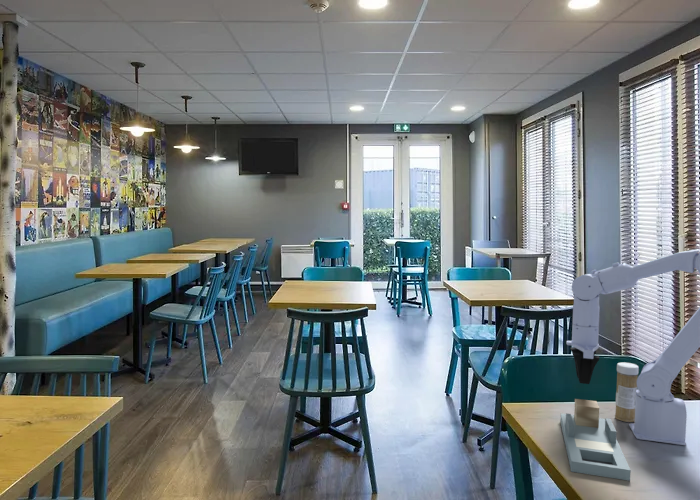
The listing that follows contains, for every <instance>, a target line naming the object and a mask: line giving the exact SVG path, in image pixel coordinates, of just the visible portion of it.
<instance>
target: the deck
mask: <svg viewBox="0 0 700 500" xmlns="http://www.w3.org/2000/svg"><path fill="white" fill-rule="evenodd" d="M560 425H561V427H560V428H561V431H562V435H563V439H564V444H565V450H566V453H567V458H568V459H567V460H568V463H569V464H568V465H569V468H570V472H572V473H578V474H585V475H590V476H591V475H593V476H598V477H605V478H610V479H618V480H624V481H631V467H630V466H629V463H628V461H627V459H626V457H625V454H624V453H623V450H622V448H621V445H620V444H619V441H618V440H617V430H616V428H615V425H614V424H613V421H612V419H611V418H607V417H606V418H603V417H602V418H601V417H599V428H594V427H587V426H579V425H576V422H575V419H574V414H571V413H563V412H562V413H560Z"/></svg>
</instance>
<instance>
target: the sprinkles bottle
mask: <svg viewBox="0 0 700 500" xmlns="http://www.w3.org/2000/svg"><path fill="white" fill-rule="evenodd" d="M639 371H640V369H639V365H637V364H636V363H631V362H625V361H624V362H618V363H617V364H616V372H617V374H616V389H615V390H616V392H615V411H614V412H615V414H614V418H615V419H616V420H618V421H621V422H624V423H634V422H635V401H636V390H637V389H638V388H637V378H638V376H639Z"/></svg>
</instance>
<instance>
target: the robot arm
mask: <svg viewBox="0 0 700 500" xmlns="http://www.w3.org/2000/svg"><path fill="white" fill-rule="evenodd" d="M695 269H696V271H697V272H698V273H699V274H700V248H697V249H690V250H685V251H684V250H683V251H680V252H676V253H672V254H669V255H666V256H663V257H660V258H657V259H654V260H650V261H647V262H644V263H641V264H639V265H638V264H637V265H633V266H632V265H631V264H628V263H626V262H624V263H620V262H614V263H612V264H611V266H609V267H607V268H603V269H599V270H597V269H593V270H591V271H590V273H585V274H581V275H580V276H578V277H576V278H575V279H574V280H573V281H572V283H571V284H572V285H571V291H572V293H573V305H572V323H571V324H572V326H571V327H572V330H571V340H566V345H567V346H572V347H569V349H570V351H571V353H572V356H573V360H574V364H575V366H574V367H575V371H576V372H575V373H576V376H577V379H578V382H579V384H583V385H584V384H585V385H590V383H591V379H592V376H593V373H594V370H595V368H596V365H597V364H598V362H599V360H600V358H601V357H600V356H599V355H596V353H597V351H598V349H599V347H600V344H599V332H600V330H599V329H600V310H601V307H600V294H601V295H609V294H612V293H616V292H620V291H624V290H627V289H631V288H634V287H635V286H636V285H637V282H638V280H641V279H646V278H650V277H651V278H652V277H653V276H658V275H659V276H660V275H663V274H666V273H670V272H675V271H679V272H680V271H681V272H684V273H690V274H693V273H694V271H695ZM699 348H700V306H699V307H698V309H697V310H696V311H695V312H694V313H693V315H692V316H691V317H690V318H689V320H688V321H687V322H686V323H685V325H683V327H682V328H681V329H680V330H679V332H678V333H677V334H676V335H675V336H674V338H673V339H672V340H671V341H670V342H669V344H668V345H667V347H666V348H665V349H664V350H663V351H662V352H661V353H660V354H659V355H658V356H657V357H656V358H655V359H654V360H653V361H651V362H650V361H649V362H648V363H646V364H645V365H643V367H642V369H641V372H640V374H638V376H637V390H636V401H635V421H634V422H633V423H632V422H629V424H628V425H629V428H630V429H631V431H632V433H633V435H634V437H635V438H636V439H637V440H644V441H651V442H657V443H658V442H659V443H664V444H673V445H678V446H679V445H681V446H687V442H686V433H687V416H688V415H687V413H688V412H687V408H686V403H685V401H684V399H683V398H682V399H681V398H678V397H675V396H674V394H672V392H671V390H672V389H671V388H672V385H673V382H674V380H675V379H676V378H677V376H678V375H679V374H680V371H681V370H682V369H683V368H684V366H686V364H687V363H688V361H690V360H691V358H692V357H693V355H695V353H696V352H697V351H698V349H699Z"/></svg>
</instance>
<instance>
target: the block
mask: <svg viewBox="0 0 700 500" xmlns="http://www.w3.org/2000/svg"><path fill="white" fill-rule="evenodd" d="M573 409H574V410H573V411H574V412H573V413H574V414H573V415H574V419H575V422H576V425H579V426H587V427H594V428H599V418H600V406H599V404H598V401H597V400H591V399H590V400H588V399H580V398H574V408H573Z"/></svg>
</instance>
